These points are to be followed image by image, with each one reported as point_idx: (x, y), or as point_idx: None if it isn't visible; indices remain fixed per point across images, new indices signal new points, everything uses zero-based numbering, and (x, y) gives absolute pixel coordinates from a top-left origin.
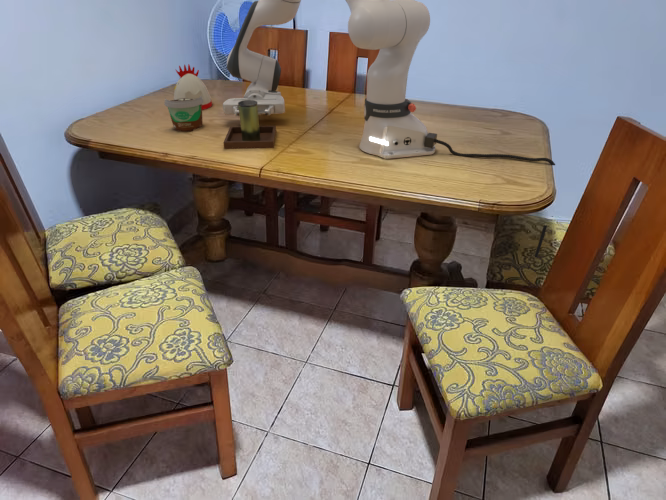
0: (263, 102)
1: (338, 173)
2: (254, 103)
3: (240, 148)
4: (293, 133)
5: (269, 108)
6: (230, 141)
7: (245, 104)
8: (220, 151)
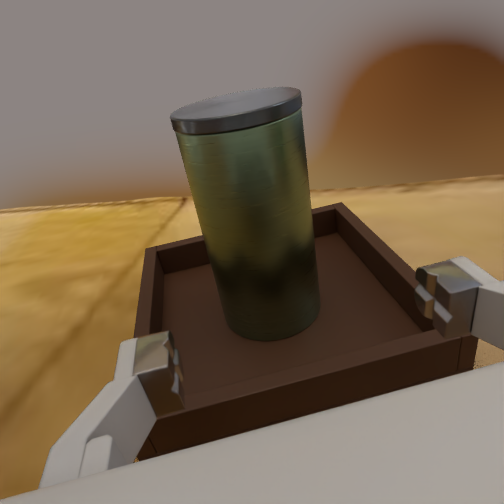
0: (194, 482)
1: (3, 228)
2: (185, 108)
3: None
4: (8, 494)
5: (116, 378)
6: (318, 211)
7: (238, 94)
8: None
